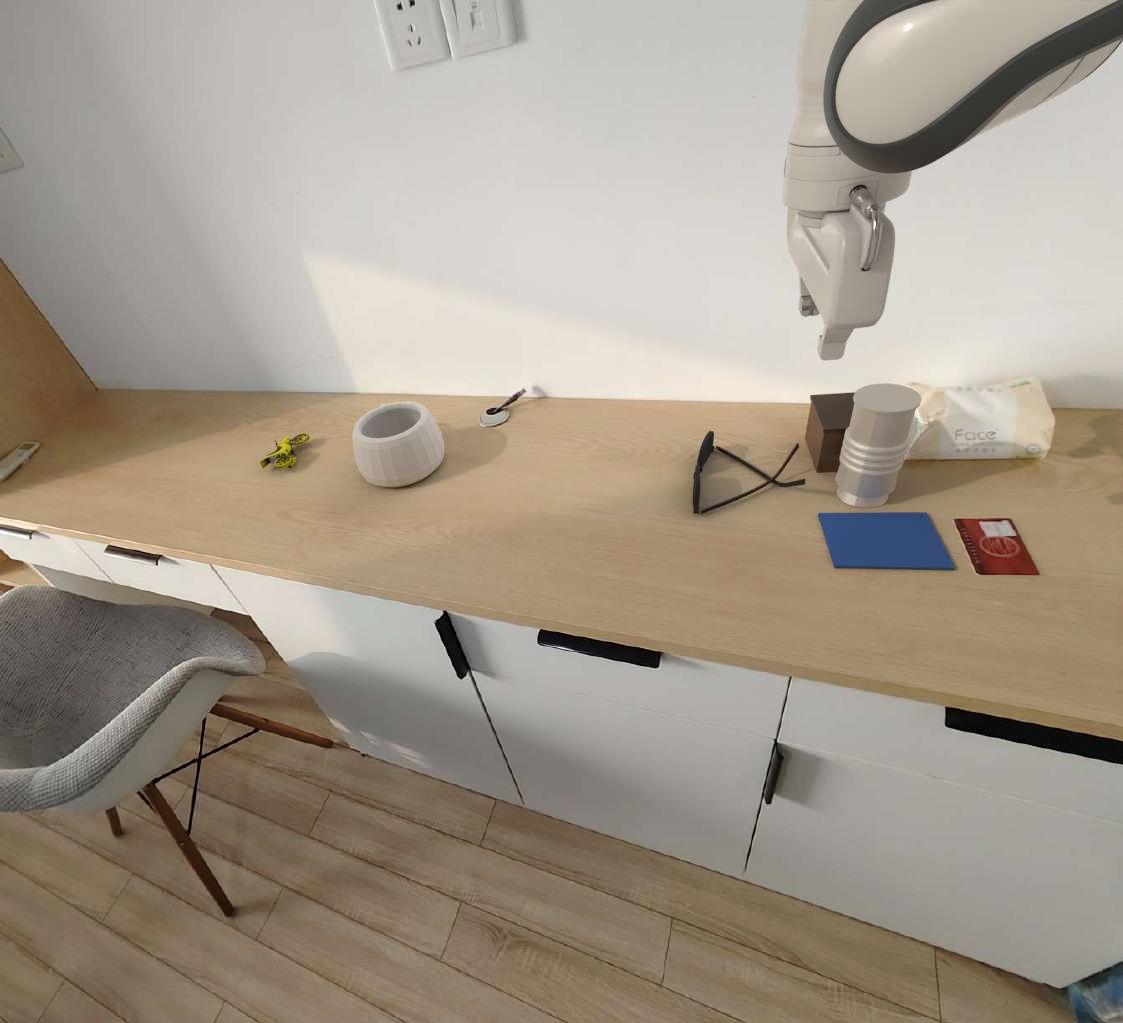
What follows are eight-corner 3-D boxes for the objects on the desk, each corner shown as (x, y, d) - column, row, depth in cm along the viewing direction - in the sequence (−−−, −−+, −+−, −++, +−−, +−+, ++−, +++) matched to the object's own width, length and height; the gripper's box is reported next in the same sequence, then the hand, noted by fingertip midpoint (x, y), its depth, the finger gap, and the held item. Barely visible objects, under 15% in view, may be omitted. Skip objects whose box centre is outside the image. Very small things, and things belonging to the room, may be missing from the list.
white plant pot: (458, 473, 108) (446, 425, 101) (368, 504, 106) (351, 457, 100) (430, 421, 125) (418, 377, 118) (352, 446, 123) (336, 403, 117)
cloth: (925, 514, 77) (926, 512, 77) (954, 570, 70) (955, 567, 70) (817, 514, 81) (818, 512, 81) (834, 567, 74) (834, 565, 74)
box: (874, 434, 91) (885, 390, 87) (892, 471, 85) (905, 425, 80) (803, 437, 94) (810, 394, 90) (815, 473, 88) (823, 429, 83)
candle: (852, 472, 86) (875, 377, 77) (904, 493, 81) (935, 394, 72) (820, 494, 84) (839, 399, 75) (871, 517, 79) (899, 418, 70)
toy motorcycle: (284, 459, 118) (253, 461, 120) (291, 474, 120) (261, 476, 122) (308, 425, 126) (279, 428, 129) (315, 441, 129) (287, 443, 131)
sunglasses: (799, 528, 80) (805, 498, 77) (684, 514, 87) (684, 487, 84) (804, 455, 91) (809, 427, 88) (701, 448, 98) (702, 422, 95)
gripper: (937, 200, 40) (889, 385, 49) (860, 139, 55) (833, 289, 64) (828, 216, 42) (800, 390, 51) (782, 153, 57) (766, 296, 66)
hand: (818, 333), depth 57 cm, fingers open, 8 cm apart
